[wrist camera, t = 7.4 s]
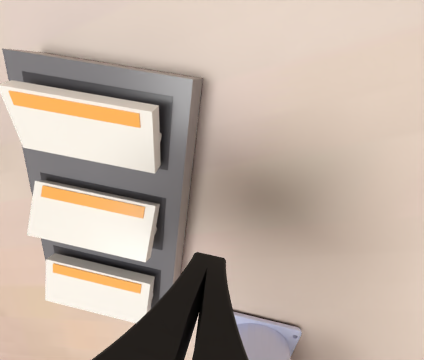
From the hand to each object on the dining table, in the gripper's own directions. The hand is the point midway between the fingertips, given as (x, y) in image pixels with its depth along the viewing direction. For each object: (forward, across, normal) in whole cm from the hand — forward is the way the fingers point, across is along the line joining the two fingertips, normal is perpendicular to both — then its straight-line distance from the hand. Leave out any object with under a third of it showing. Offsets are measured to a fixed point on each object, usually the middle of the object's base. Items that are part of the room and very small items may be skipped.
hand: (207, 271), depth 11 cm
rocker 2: (+6, +9, +10) cm, 15 cm away
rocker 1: (+6, +9, -4) cm, 11 cm away
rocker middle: (+6, +9, +3) cm, 11 cm away
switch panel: (+9, +9, +3) cm, 13 cm away
